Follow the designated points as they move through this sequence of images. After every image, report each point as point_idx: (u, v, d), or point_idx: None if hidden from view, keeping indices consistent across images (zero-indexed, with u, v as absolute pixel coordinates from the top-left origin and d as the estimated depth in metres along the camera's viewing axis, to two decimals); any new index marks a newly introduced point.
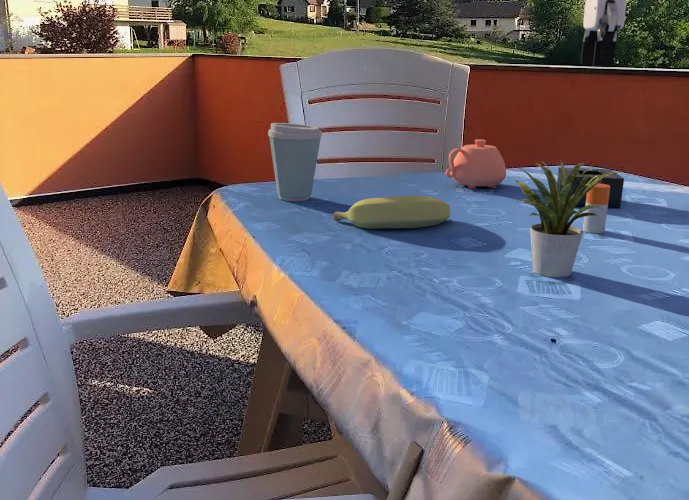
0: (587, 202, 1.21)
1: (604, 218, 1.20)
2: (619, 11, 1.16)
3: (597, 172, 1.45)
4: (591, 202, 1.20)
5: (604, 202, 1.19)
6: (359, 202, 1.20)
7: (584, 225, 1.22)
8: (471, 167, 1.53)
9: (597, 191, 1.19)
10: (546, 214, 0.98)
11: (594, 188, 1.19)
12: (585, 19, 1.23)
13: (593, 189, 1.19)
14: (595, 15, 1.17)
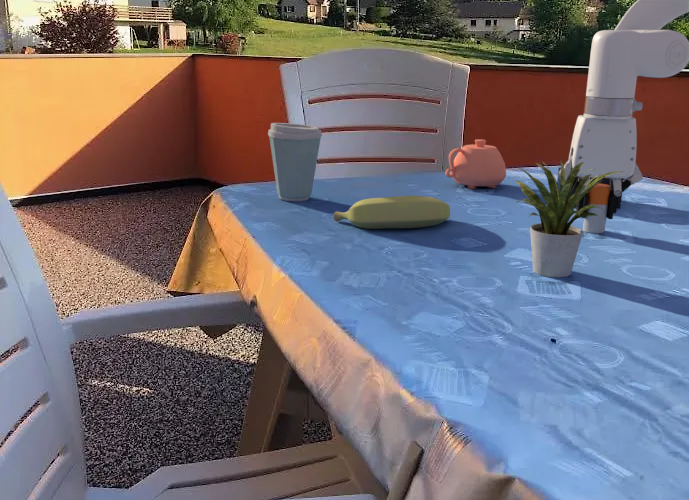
0: None
1: (604, 218, 1.20)
2: None
3: None
4: (591, 202, 1.20)
5: (604, 202, 1.19)
6: (359, 202, 1.20)
7: (584, 225, 1.22)
8: (471, 167, 1.53)
9: (597, 191, 1.19)
10: (546, 214, 0.98)
11: (594, 188, 1.19)
12: (591, 167, 1.17)
13: (593, 189, 1.19)
14: (632, 165, 1.17)
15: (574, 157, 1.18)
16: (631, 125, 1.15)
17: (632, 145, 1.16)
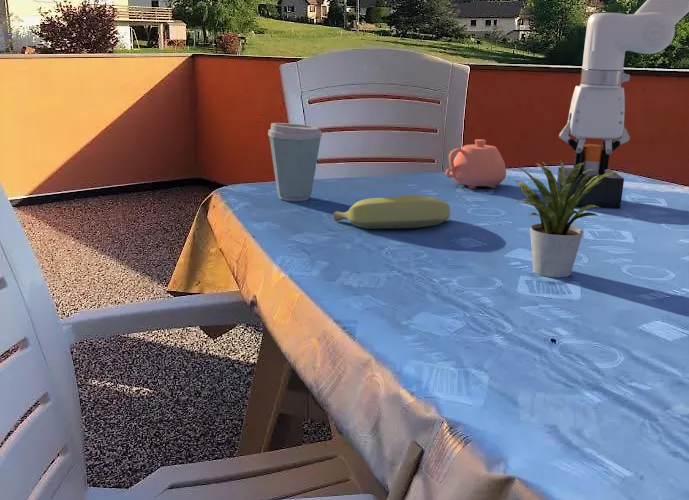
0: None
1: (597, 173, 1.42)
2: None
3: None
4: (586, 159, 1.41)
5: (597, 159, 1.41)
6: (359, 202, 1.20)
7: None
8: (471, 167, 1.53)
9: (591, 150, 1.40)
10: (546, 214, 0.98)
11: (589, 147, 1.40)
12: (586, 129, 1.39)
13: (588, 148, 1.41)
14: (621, 128, 1.38)
15: (572, 121, 1.39)
16: (620, 93, 1.36)
17: (621, 110, 1.37)
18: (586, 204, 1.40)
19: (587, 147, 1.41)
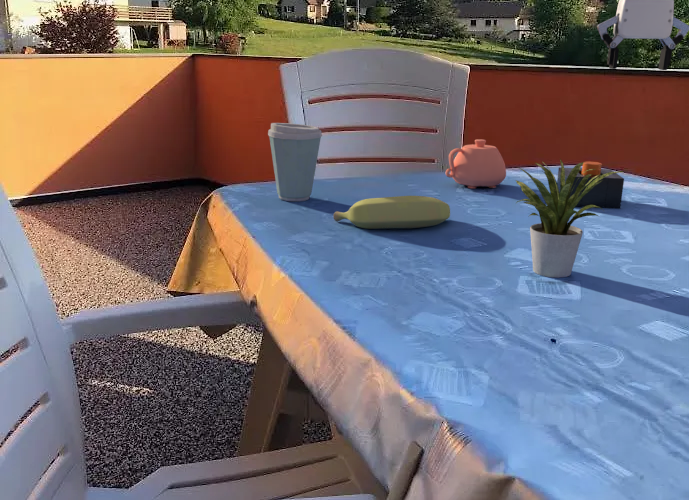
0: None
1: None
2: None
3: None
4: None
5: None
6: (359, 202, 1.20)
7: None
8: (471, 167, 1.53)
9: (591, 168, 1.41)
10: (546, 214, 0.98)
11: (588, 165, 1.41)
12: (635, 28, 1.37)
13: (587, 166, 1.42)
14: (669, 26, 1.37)
15: (620, 20, 1.38)
16: None
17: (670, 8, 1.36)
18: (586, 204, 1.40)
19: (586, 165, 1.42)
